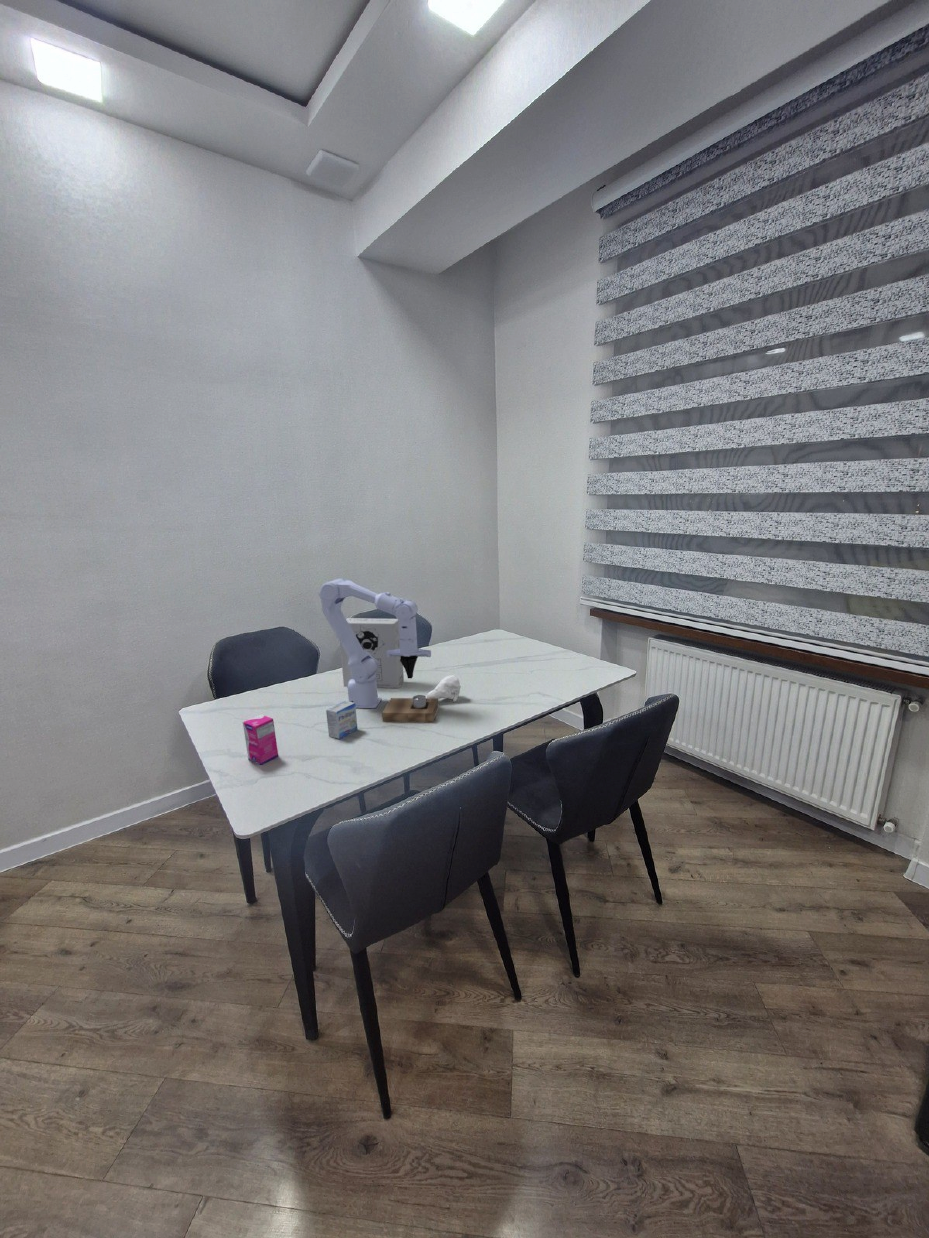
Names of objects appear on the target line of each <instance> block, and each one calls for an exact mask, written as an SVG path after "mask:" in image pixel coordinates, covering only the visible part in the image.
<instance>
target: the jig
mask: <svg viewBox="0 0 929 1238" xmlns="http://www.w3.org/2000/svg"><path fill="white" fill-rule="evenodd" d="M438 710H439V699H438V698H427V697H426V709H413V697H411V698H410V697H408V698H407V697H400V698H399V697H391V698H390V699H389V700H388V703H387V704H386V706H385V708H384V709H383V710H382V712H381V719H382V723H386V722H388V723H392V722H393V723H397V722H398V723H433V722H434V720H435V717H436V715H437V712H438Z"/></svg>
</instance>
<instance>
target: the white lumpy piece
mask: <svg viewBox="0 0 929 1238" xmlns="http://www.w3.org/2000/svg"><path fill="white" fill-rule="evenodd" d="M461 687H462V686H461V684H460V680H459V678H458V677H456V675H453V674H451V675H450V674H449V675H447V676H444V677H443V678H442V679H441V680H440V681H439V683H438V684H437V685H436V687H435V688H434V689H432V690H431V691H429V692H428V693H427V695H426V698H438V700H440V699H451V700H452V702H454V703H455V702H457V700H458V698H459V696H460V692H461Z"/></svg>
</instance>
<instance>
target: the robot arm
mask: <svg viewBox="0 0 929 1238" xmlns="http://www.w3.org/2000/svg"><path fill="white" fill-rule="evenodd" d="M318 596H319V597H320V601H321V610H322V613H323V615H324V617H325V618H326V620H327V622H328V624H329V625H330V627H331V629H332V630H333V632H334V634H335V636H336V637H337V639H338V641H339V644H340V643H341V645H342V646H343V648H344V650H345V652H346V653H347V655H348V657H349V661H348V666H349V668H350V671H351V676H352V678H353V679H350V681H349V683H348V686H347V696H348V701H349V702H352V703H355V706H356V709H359V708H360V709H376V708H377V707H378V705H379V703H380V702H381V701H382V697H379V696H378V688H377V682H376V673H375V672H376V671H377V670H378V662H377V661H376V659H374V658H373V657H372V656H371V655H370V653H369V652H367V651H365V650H364V649H363V648H362V646H361V645H360V643H359V641H358V639H357V638H356V636H355V634H354V632H353V631H352V629H351V627H350V625H349V624H348V622H347V620H346V617H345V615H344V613H343V611H342V610H341V608H342V605H343V602H344V600H345V599H346V598H349V597H354V598H357V599H360V600H362V601H367V602H369V603H372V604H374V605H375V608H376V609H378V610H379V611H382V612H384V613H387V614H390V615H391V616H395V617H396V618H395V619H398V624H399V625H398V626H399V642H400V649H397V650H388V651H387V657H401V659H400V662H401V663H402V665H403V669H404V670H405V673H406V677H407V679H412V678H413V677H414V670H415V666H416V664H417V660H418V658H420V657H421V658H423V657H424V658H426V657H427V658H431V657H432V650H431V649H421V648H418V636H417V635H418V634H417V619H416V614H417V613H418V609H419V608H418V605H417V604H416V602H414V601H413V600H412V599H404V598H402V597H396V596H395V595H392V594H391V592H389V591H386V592H380V593H377V592H374V591H373V590H370V589H368V588H366V587H364V586H362V585H359V584H357V583H354V582H353V581H352V580H350V579H345V578H342V577H339V578H338V577H337V578H336V579H333V580H330V581H326V582H324V583H323V584H322V585H321V587H320V588H319V592H318Z"/></svg>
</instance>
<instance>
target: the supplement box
mask: <svg viewBox="0 0 929 1238" xmlns="http://www.w3.org/2000/svg"><path fill="white" fill-rule="evenodd" d="M242 727H243V732H244V738H245V739H244V740H245V746H246V751H247V753H246V754H247V759H248V760H249V761H252V762H253V763H256V764H257V765H260V766H262V765H264V764H266V763H268V762H270V761H272V760H274V759H276V758H279V751H278V750H279V749H278V742H277V737H276V729H275V723H274V718H272V717H271V716H270V717H269V716H266V715H264V714H261V713H260V714H258V715H256V716H253V717H251V718H249V719H246V720H244V721H242Z"/></svg>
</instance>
